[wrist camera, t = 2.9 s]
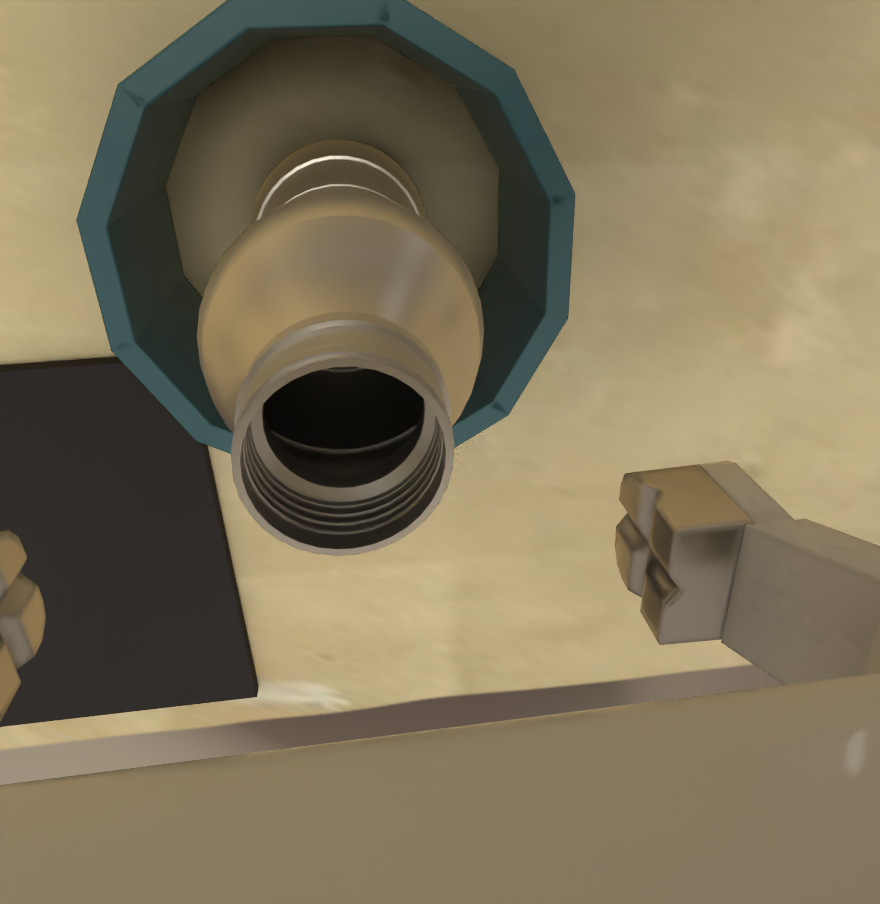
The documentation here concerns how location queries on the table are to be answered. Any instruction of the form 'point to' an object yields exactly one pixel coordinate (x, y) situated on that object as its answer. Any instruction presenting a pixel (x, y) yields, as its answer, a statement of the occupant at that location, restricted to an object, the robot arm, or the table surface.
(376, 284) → the plastic bottle
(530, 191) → the bucket
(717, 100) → the table surface
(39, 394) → the mat
